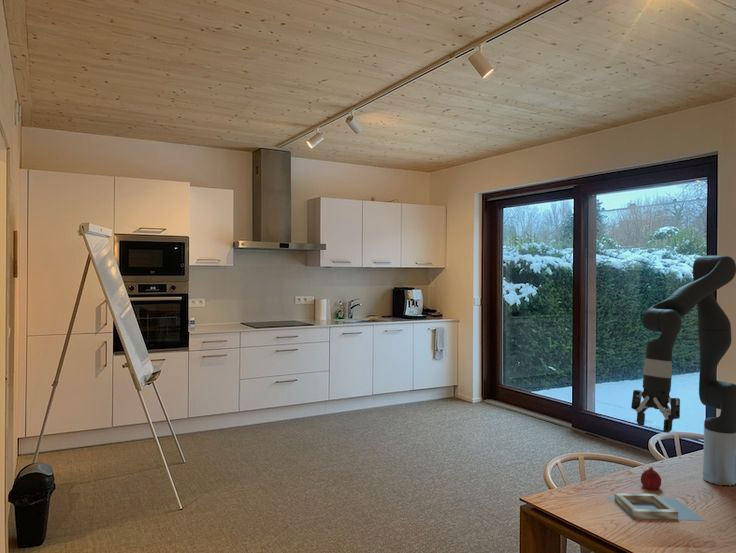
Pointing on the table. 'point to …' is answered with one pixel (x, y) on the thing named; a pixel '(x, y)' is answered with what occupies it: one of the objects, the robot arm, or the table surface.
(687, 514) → the build board
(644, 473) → the onion
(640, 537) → the table surface
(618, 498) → the square frame
